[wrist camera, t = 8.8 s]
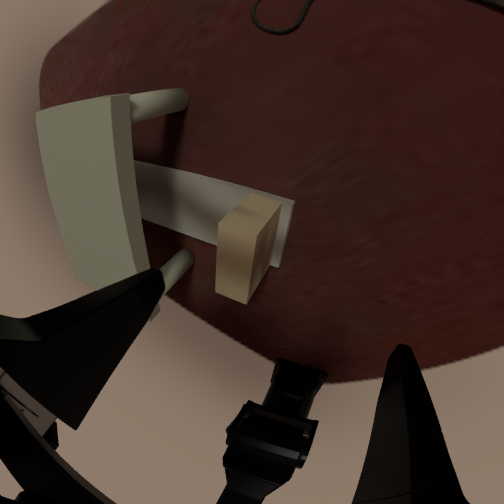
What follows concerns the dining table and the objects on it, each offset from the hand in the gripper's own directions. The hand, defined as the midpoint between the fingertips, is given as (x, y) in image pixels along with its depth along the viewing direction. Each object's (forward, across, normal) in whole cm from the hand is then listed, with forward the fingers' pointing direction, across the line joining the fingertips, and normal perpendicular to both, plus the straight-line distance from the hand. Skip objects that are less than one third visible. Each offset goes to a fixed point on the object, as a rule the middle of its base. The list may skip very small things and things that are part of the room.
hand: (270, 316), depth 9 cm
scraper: (+13, +13, +4) cm, 18 cm away
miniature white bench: (+12, +17, +2) cm, 21 cm away
